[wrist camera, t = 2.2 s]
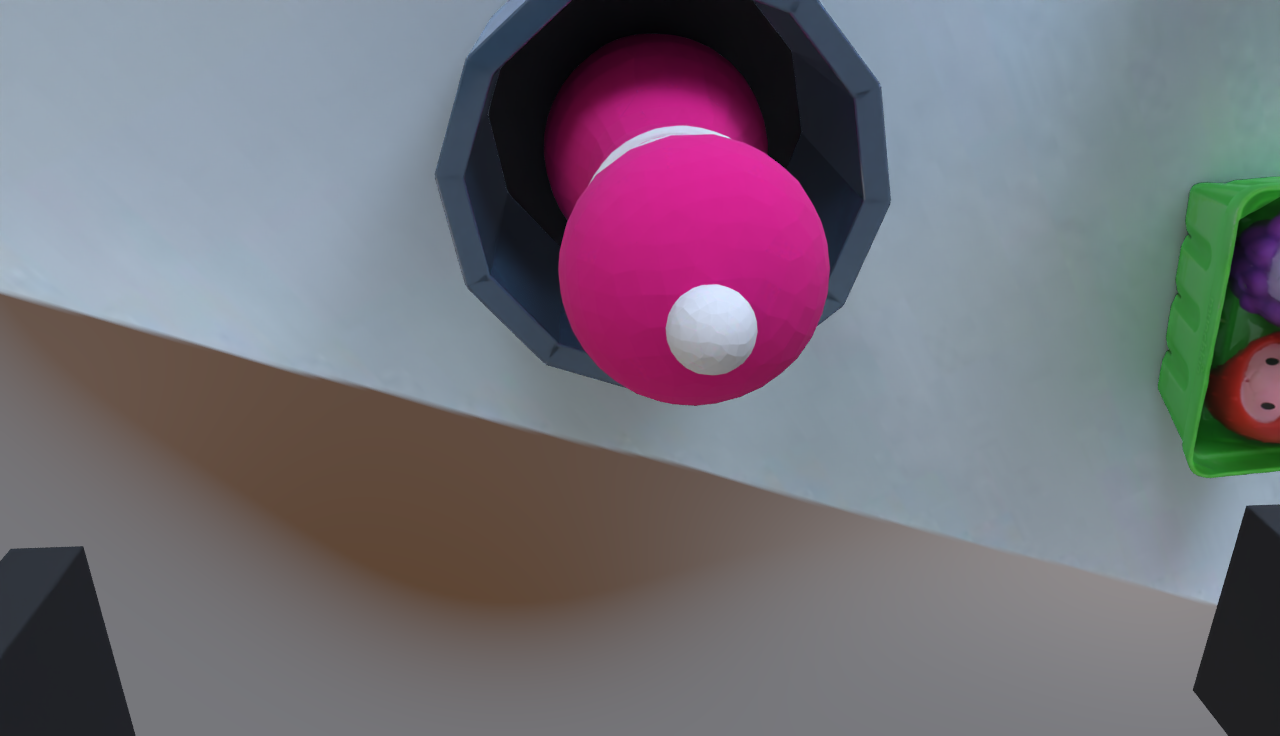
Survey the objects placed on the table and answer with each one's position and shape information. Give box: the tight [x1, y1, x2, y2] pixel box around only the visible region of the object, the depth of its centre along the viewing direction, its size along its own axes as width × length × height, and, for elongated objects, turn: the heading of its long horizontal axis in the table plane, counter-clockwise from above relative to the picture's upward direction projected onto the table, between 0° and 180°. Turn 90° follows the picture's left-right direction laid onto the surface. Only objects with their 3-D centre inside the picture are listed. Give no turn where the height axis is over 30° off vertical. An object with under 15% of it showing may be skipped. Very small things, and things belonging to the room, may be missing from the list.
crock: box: [435, 0, 891, 388], centre depth 33 cm, size 13×13×9 cm
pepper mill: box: [544, 34, 830, 406], centre depth 28 cm, size 7×7×20 cm
